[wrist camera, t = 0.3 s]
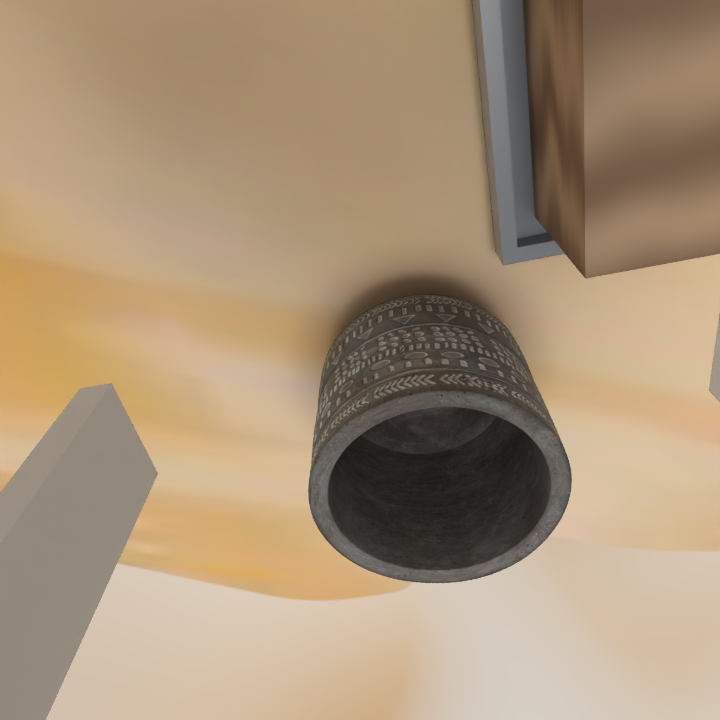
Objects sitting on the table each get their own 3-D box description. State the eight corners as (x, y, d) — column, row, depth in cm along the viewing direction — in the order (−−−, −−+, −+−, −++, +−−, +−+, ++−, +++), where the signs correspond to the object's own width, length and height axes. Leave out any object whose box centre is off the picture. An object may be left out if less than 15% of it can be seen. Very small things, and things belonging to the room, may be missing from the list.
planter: (358, 243, 39) (354, 355, 26) (546, 303, 41) (627, 435, 28) (303, 404, 46) (277, 554, 33) (465, 448, 48) (501, 606, 35)
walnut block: (521, -22, 30) (582, -36, 21) (721, -71, 29) (870, -107, 20) (534, 216, 37) (585, 278, 28) (697, 184, 35) (802, 238, 27)
